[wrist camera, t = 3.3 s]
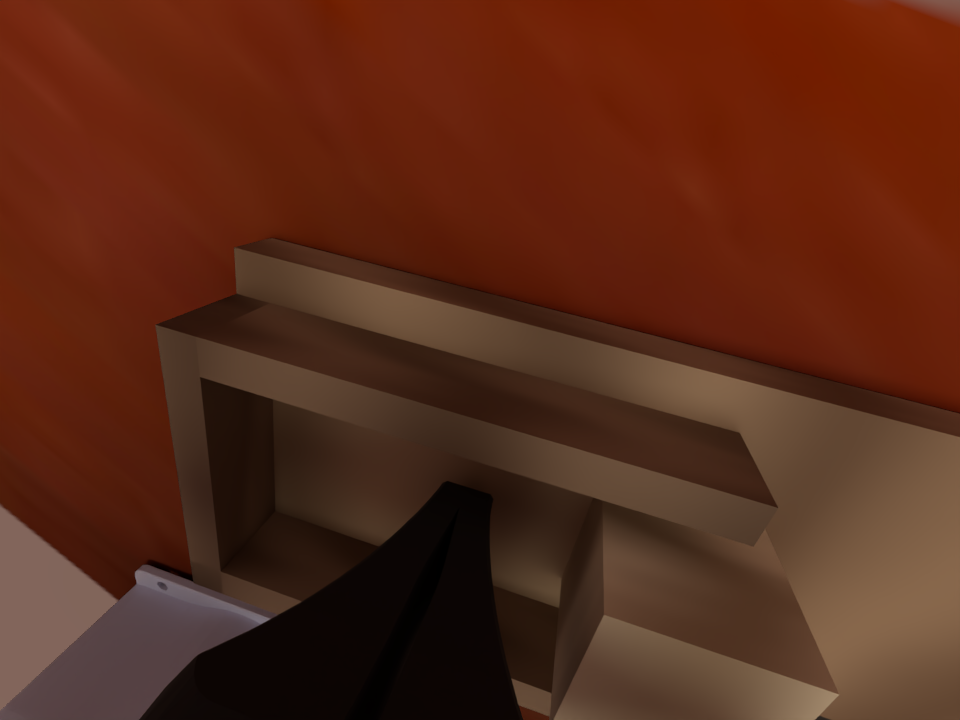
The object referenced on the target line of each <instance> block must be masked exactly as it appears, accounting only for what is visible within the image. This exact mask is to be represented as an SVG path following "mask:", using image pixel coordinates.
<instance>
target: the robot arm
mask: <svg viewBox="0 0 960 720" xmlns="http://www.w3.org/2000/svg"><path fill="white" fill-rule="evenodd" d="M492 503H493V497H492V496H491V494H488V493H485V492H481V491H478V490H475V489H472V488H469V487H465V486H462V485H459V484H456V483H453V482H449V481H446V482H443V483H442V484H441V486H440V487H439V488H438V489H437V491H436V492H435V493H434V494H433V495H432V497H431V498H430V499H429V500H428V501H427V502H426V503H425V504H424V505H423V506H422V507H421V508H420V509H419V511H418V512H417V513H416V514H415V515H414V516H413V517H411V518H410V519H409V520H408V521H407V522H406V523H405V524H404V525H403V526H402V527H401V528H400V529H399V530H398V531H397V532H396V533H395V534H393V535H392V536H391V537H390V538H389V539H388V540H386V541H385V542H384V543H383V544H382V545H381V546H379V547H378V548H377V549H376V550H375V551H374V552H372V553H371V554H370V555H369V556H367V557H366V558H365V559H363V560H362V561H361V562H360V563H358V564H357V565H356V566H354V567H353V568H351V569H350V570H349V571H347V572H346V573H345V574H343V575H342V576H340V577H339V578H337V579H336V580H334V581H333V582H331V583H330V584H328V585H327V586H325V587H324V588H322V589H321V590H319V591H318V592H316V593H315V594H313V595H311V596H310V597H308V598H307V599H305V600H303V601H302V602H300V603H298V604H297V605H295V606H293V607H291V608H289V609H288V610H286V611H284V612H282V613H280V614H279V615H277V614H275V613H272V612H269V611H267V610H264V609H261V608H259V607H256V606H253V605H251V604H248V603H245V602H243V601H240V600H237V599H235V598H232V597H229V596H227V595H224V594H221V593H219V592H216V591H213V590H211V589H208V588H205V587H203V586H200V585H197V584H195V583H194V582H193V581H190V580H188V579H185V578H182V577H180V576H177V575H174V574H172V573H169V572H166V571H164V570H161V569H158V568H156V567H153V566H150V565H142V566H141V567H140V568H139V569H138V570H137V571H136V572H135V578H136V582H137V584H136V585H135V586H134V587H133V588H132V589H131V590H130V591H129V592H127V593H126V594H125V595H124V596H123V597H122V598H121V599H120V600H119V601H118V602H117V603H116V604H115V605H113V607H111V608H110V609H109V610H108V611H107V612H106V613H105V614H104V615H103V616H102V617H101V618H100V619H98V620H97V621H96V622H95V623H94V624H93V625H92V626H91V627H90V628H89V629H88V630H87V631H86V632H84V633H83V634H82V635H81V636H80V637H79V638H78V639H77V640H76V641H75V642H74V643H73V644H72V645H70V646H69V647H68V648H67V649H66V650H65V651H64V652H63V653H62V654H61V655H60V656H59V657H57V659H55V660H54V661H53V662H52V663H51V664H50V665H49V666H48V667H47V668H46V669H45V670H43V671H42V672H41V673H40V674H39V675H38V676H37V677H36V678H35V679H34V680H33V681H32V682H31V683H30V684H28V685H27V686H26V687H25V688H24V689H23V690H22V691H21V692H20V693H19V694H18V695H17V696H16V697H14V698H13V699H12V700H11V701H10V702H9V703H8V704H7V705H6V706H5V707H4V708H3V709H2V710H1V711H0V720H523V718H522V715H521V712H520V709H519V705H518V701H517V698H516V694H515V690H514V687H513V683H512V679H511V676H510V672H509V668H508V665H507V661H506V656H505V652H504V647H503V643H502V638H501V633H500V628H499V623H498V617H497V611H496V605H495V598H494V590H493V582H492V572H491V558H490V515H491V508H492Z"/></svg>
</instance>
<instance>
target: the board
mask: <svg viewBox="0 0 960 720" xmlns="http://www.w3.org/2000/svg"><path fill="white" fill-rule="evenodd" d="M234 255H235V272H236V289H237V294H239V295H243V296H246V297H250V298H254V299H257V300H261V301H265V302H268V303H272V304H275V305H279V306H283V307H286V308H290V309H293V310H297V311H301V312H304V313H308V314H312V315H315V316H319V317H322V318H326V319H330V320H333V321H337V322H341V323H344V324H348V325H351V326H355V327H359V328H362V329H366V330H369V331H373V332H377V333H380V334H384V335H388V336H391V337H395V338H398V339H402V340H406V341H409V342H413V343H417V344H420V345H424V346H427V347H431V348H435V349H438V350H442V351H446V352H449V353H453V354H456V355H460V356H464V357H467V358H471V359H474V360H478V361H482V362H485V363H489V364H493V365H496V366H500V367H503V368H507V369H511V370H514V371H518V372H522V373H525V374H529V375H532V376H536V377H540V378H543V379H547V380H550V381H554V382H558V383H561V384H565V385H569V386H572V387H576V388H579V389H583V390H587V391H590V392H594V393H598V394H601V395H605V396H608V397H612V398H616V399H619V400H623V401H627V402H630V403H634V404H637V405H641V406H645V407H648V408H652V409H655V410H659V411H663V412H666V413H670V414H674V415H677V416H681V417H684V418H688V419H692V420H695V421H699V422H703V423H706V424H710V425H713V426H717V427H721V428H724V429H728V430H731V431H735V432H739V433H740V434H741V436H742V438H743V440H744V442H745V444H746V446H747V448H748V450H749V452H750V454H751V455H752V457H753V459H754V461H755V463H756V465H757V467H758V469H759V471H760V473H761V475H762V477H763V479H764V481H765V483H766V485H767V487H768V489H769V491H770V493H771V494H772V496H773V498H774V500H775V502H776V504H777V506H778V510H777V511H776V513H775V514H774V516H773V517H772V519H771V520H770V522H769V524H768V525H767V527H766V528H765V530H766V532H767V534H768V537H769V539H770V541H771V543H772V546H773V548H774V550H775V552H776V554H777V557H778V559H779V561H780V563H781V566H782V568H783V570H784V572H785V574H786V577H787V579H788V581H789V583H790V586H791V588H792V590H793V592H794V595H795V597H796V599H797V601H798V603H799V606H800V608H801V610H802V612H803V615H804V617H805V619H806V621H807V624H808V626H809V628H810V630H811V632H812V635H813V637H814V639H815V641H816V644H817V646H818V648H819V650H820V653H821V655H822V657H823V659H824V661H825V664H826V666H827V668H828V670H829V673H830V675H831V677H832V679H833V682H834V684H835V686H836V688H837V690H838V693H839V696H838V697H837V698H836V699H835V700H834V701H833V702H832V703H831V704H830V705H829V706H828V707H827V708H826V709H825V710H824V711H823V712H822V713H821V714H820V715H819V716H818V717H817V718H816V719H815V720H960V414H959V413H955V412H951V411H947V410H944V409H940V408H936V407H932V406H928V405H924V404H920V403H916V402H912V401H908V400H904V399H900V398H897V397H893V396H889V395H885V394H881V393H877V392H873V391H869V390H865V389H861V388H857V387H853V386H850V385H846V384H842V383H838V382H834V381H830V380H826V379H822V378H818V377H814V376H810V375H806V374H803V373H799V372H795V371H791V370H787V369H783V368H779V367H775V366H771V365H767V364H763V363H759V362H756V361H752V360H748V359H744V358H740V357H736V356H732V355H728V354H724V353H720V352H716V351H712V350H709V349H705V348H701V347H697V346H693V345H689V344H685V343H681V342H677V341H673V340H669V339H665V338H662V337H658V336H654V335H650V334H646V333H642V332H638V331H634V330H630V329H626V328H622V327H619V326H615V325H611V324H607V323H603V322H599V321H595V320H591V319H587V318H583V317H579V316H575V315H572V314H568V313H564V312H560V311H556V310H552V309H548V308H544V307H540V306H536V305H532V304H528V303H525V302H521V301H517V300H513V299H509V298H505V297H501V296H497V295H493V294H489V293H485V292H481V291H478V290H474V289H470V288H466V287H462V286H458V285H454V284H450V283H446V282H442V281H438V280H434V279H431V278H427V277H423V276H419V275H415V274H411V273H407V272H403V271H399V270H395V269H391V268H387V267H384V266H380V265H376V264H372V263H368V262H364V261H360V260H356V259H352V258H348V257H344V256H340V255H337V254H333V253H329V252H325V251H321V250H317V249H313V248H309V247H305V246H301V245H297V244H293V243H290V242H286V241H282V240H278V239H274V238H270V239H266V240H262V241H258V242H254V243H250V244H246V245H242V246H238V247H234ZM273 431H274V473H275V511H277V512H279V513H282V514H285V515H288V516H291V517H294V518H297V519H300V520H303V521H306V522H309V523H312V524H315V525H317V526H320V527H323V528H326V529H329V530H332V531H335V532H338V533H341V534H344V535H347V536H350V537H353V538H355V539H358V540H361V541H364V542H367V543H370V544H373V545H376V546H381V545H382V544H383V543H384V542H385V541H386V540H388V539H389V538H390V537H391V536H392V535H393V534H395V533H396V532H397V531H398V530H399V529H400V528H401V527H402V526H403V525H404V524H405V523H406V522H407V521H408V520H409V519H410V518H411V517H413V516H414V515H415V514H416V513H417V512H418V511H419V509H420V508H421V507H422V506H423V505H424V504H425V503H426V502H427V501H428V500H429V499H430V498H431V497H432V495H433V494H434V493H435V492H436V491H437V489H438V488H439V487H440V486H441V484H442V483H443V482H446V481H449V482H453V483H456V484H459V485H462V486H465V487H469V488H472V489H475V490H478V491H481V492H485V493H488V494H491V496H492V497H493V503H492V508H491V515H490V558H491V572H492V582H493V586H496V587H499V588H502V589H505V590H507V591H510V592H513V593H516V594H519V595H522V596H525V597H528V598H531V599H534V600H537V601H540V602H543V603H545V604H548V605H551V606H554V607H557V608H559V602H560V590H561V579H562V576H563V573H564V571H565V568H566V566H567V563H568V561H569V558H570V556H571V553H572V551H573V548H574V546H575V543H576V541H577V538H578V535H579V533H580V530H581V528H582V525H583V523H584V520H585V518H586V515H587V513H588V510H589V508H590V505H591V502H592V500H593V497H590V496H587V495H583V494H580V493H577V492H574V491H570V490H567V489H564V488H561V487H557V486H554V485H551V484H547V483H544V482H541V481H538V480H534V479H531V478H528V477H525V476H521V475H518V474H515V473H512V472H508V471H505V470H502V469H499V468H495V467H492V466H489V465H486V464H482V463H479V462H476V461H472V460H469V459H466V458H463V457H459V456H456V455H453V454H450V453H446V452H443V451H440V450H437V449H433V448H430V447H427V446H424V445H420V444H417V443H414V442H411V441H407V440H404V439H401V438H397V437H394V436H391V435H388V434H384V433H381V432H378V431H375V430H371V429H368V428H365V427H362V426H358V425H355V424H352V423H349V422H345V421H342V420H339V419H336V418H332V417H329V416H326V415H322V414H319V413H316V412H313V411H309V410H306V409H303V408H300V407H296V406H293V405H290V404H287V403H283V402H280V401H277V400H274V399H273Z"/></svg>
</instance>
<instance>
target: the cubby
mask: <svg viewBox="0 0 960 720" xmlns="http://www.w3.org/2000/svg"><path fill="white" fill-rule="evenodd" d="M156 332H157V339H158V346H159V352H160V359H161V366H162V373H163V379H164V386H165V393H166V400H167V406H168V413H169V420H170V427H171V434H172V440H173V447H174V454H175V461H176V467H177V474H178V481H179V488H180V494H181V501H182V508H183V515H184V522H185V528H186V535H187V542H188V549H189V555H190V562H191V569H192V576H193V582H194V583H195V584H197V585H200V586H203V587H205V588H208V589H211V590H213V591H216V592H219V593H221V594H224V595H227V596H229V597H232V598H235V599H237V600H240V601H243V602H245V603H248V604H251V605H253V606H256V607H259V608H261V609H264V610H267V611H269V612H272V613H275V614H277V615H279V614H280V613H282V612H284V611H286V610H288V609H289V608H291V607H293V606H295V605H297V604H298V603H300V602H302V601H303V600H305V599H307V598H308V597H310V596H311V595H313V594H315V593H316V592H318V591H319V590H321V589H322V588H324V587H325V586H327V585H328V584H330V583H331V582H333V581H334V580H336V579H337V578H339V577H340V576H342V575H343V574H345V573H346V572H347V571H349V570H350V569H351V568H353V567H354V566H356V565H357V564H358V563H360V562H361V561H362V560H363V559H365V558H366V557H367V556H369V555H370V554H371V553H372V552H374V551H375V550H376V549H377V548H378V547H379V546H376V545H373V544H370V543H367V542H364V541H361V540H358V539H355V538H353V537H350V536H347V535H344V534H341V533H338V532H335V531H332V530H329V529H326V528H323V527H320V526H317V525H315V524H312V523H309V522H306V521H303V520H300V519H297V518H294V517H291V516H288V515H285V514H282V513H279V512H277V511H275V473H274V431H273V399H274V400H277V401H280V402H283V403H287V404H290V405H293V406H296V407H300V408H303V409H306V410H309V411H313V412H316V413H319V414H322V415H326V416H329V417H332V418H336V419H339V420H342V421H345V422H349V423H352V424H355V425H358V426H362V427H365V428H368V429H371V430H375V431H378V432H381V433H384V434H388V435H391V436H394V437H397V438H401V439H404V440H407V441H411V442H414V443H417V444H420V445H424V446H427V447H430V448H433V449H437V450H440V451H443V452H446V453H450V454H453V455H456V456H459V457H463V458H466V459H469V460H472V461H476V462H479V463H482V464H486V465H489V466H492V467H495V468H499V469H502V470H505V471H508V472H512V473H515V474H518V475H521V476H525V477H528V478H531V479H534V480H538V481H541V482H544V483H547V484H551V485H554V486H557V487H561V488H564V489H567V490H570V491H574V492H577V493H580V494H583V495H587V496H590V497H593V498H596V499H600V500H603V501H606V502H609V503H613V504H616V505H619V506H622V507H626V508H629V509H632V510H636V511H639V512H642V513H645V514H649V515H652V516H655V517H658V518H662V519H665V520H668V521H671V522H675V523H678V524H681V525H684V526H688V527H691V528H694V529H697V530H701V531H704V532H707V533H711V534H714V535H717V536H720V537H724V538H727V539H730V540H733V541H737V542H740V543H743V544H746V545H750V546H753V547H754V545H755V544H756V542H757V541H758V539H759V537H760V536H761V534H762V533H763V531H764V530H765V528H766V527H767V525H768V524H769V522H770V520H771V519H772V517H773V516H774V514H775V513H776V511H777V510H778V506H777V504H776V502H775V500H774V498H773V496H772V494H771V493H770V491H769V489H768V487H767V485H766V483H765V481H764V479H763V477H762V475H761V473H760V471H759V469H758V467H757V465H756V463H755V461H754V459H753V457H752V455H751V454H750V452H749V450H748V448H747V446H746V444H745V442H744V440H743V438H742V436H741V434H740V433H739V432H735V431H731V430H728V429H724V428H721V427H717V426H713V425H710V424H706V423H703V422H699V421H695V420H692V419H688V418H684V417H681V416H677V415H674V414H670V413H666V412H663V411H659V410H655V409H652V408H648V407H645V406H641V405H637V404H634V403H630V402H627V401H623V400H619V399H616V398H612V397H608V396H605V395H601V394H598V393H594V392H590V391H587V390H583V389H579V388H576V387H572V386H569V385H565V384H561V383H558V382H554V381H550V380H547V379H543V378H540V377H536V376H532V375H529V374H525V373H522V372H518V371H514V370H511V369H507V368H503V367H500V366H496V365H493V364H489V363H485V362H482V361H478V360H474V359H471V358H467V357H464V356H460V355H456V354H453V353H449V352H446V351H442V350H438V349H435V348H431V347H427V346H424V345H420V344H417V343H413V342H409V341H406V340H402V339H398V338H395V337H391V336H388V335H384V334H380V333H377V332H373V331H369V330H366V329H362V328H359V327H355V326H351V325H348V324H344V323H341V322H337V321H333V320H330V319H326V318H322V317H319V316H315V315H312V314H308V313H304V312H301V311H297V310H293V309H290V308H286V307H283V306H279V305H275V304H272V303H268V302H265V301H261V300H257V299H254V298H250V297H246V296H243V295H239V294H235V295H232V296H230V297H227V298H225V299H222V300H219V301H217V302H214V303H211V304H209V305H206V306H204V307H201V308H198V309H196V310H193V311H191V312H188V313H185V314H183V315H180V316H177V317H175V318H172V319H170V320H167V321H164V322H162V323H159V324H157V325H156ZM493 590H494V598H495V605H496V611H497V617H498V623H499V628H500V633H501V638H502V643H503V647H504V652H505V656H506V661H507V665H508V668H509V672H510V676H511V679H512V683H513V687H514V690H515V694H516V698H517V701H518V705H520V706H523V707H526V708H528V709H531V710H534V711H536V712H539V713H542V714H544V715H547V716H550V707H551V695H552V684H553V672H554V660H555V649H556V637H557V625H558V614H559V608H557V607H554V606H551V605H548V604H545V603H543V602H540V601H537V600H534V599H531V598H528V597H525V596H522V595H519V594H516V593H513V592H510V591H507V590H505V589H502V588H499V587H496V586H493Z"/></svg>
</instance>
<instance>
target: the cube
mask: <svg viewBox="0 0 960 720" xmlns="http://www.w3.org/2000/svg"><path fill="white" fill-rule="evenodd" d="M838 696H839V693H838V690H837V688H836V686H835V684H834V682H833V679H832V677H831V675H830V673H829V670H828V668H827V666H826V664H825V661H824V659H823V657H822V655H821V653H820V650H819V648H818V646H817V644H816V641H815V639H814V637H813V635H812V632H811V630H810V628H809V626H808V624H807V621H806V619H805V617H804V615H803V612H802V610H801V608H800V606H799V603H798V601H797V599H796V597H795V595H794V592H793V590H792V588H791V586H790V583H789V581H788V579H787V577H786V574H785V572H784V570H783V568H782V566H781V563H780V561H779V559H778V557H777V554H776V552H775V550H774V548H773V546H772V543H771V541H770V539H769V537H768V534H767V532H766V530H764V531H763V533H762V534H761V536H760V537H759V539H758V541H757V542H756V544H755V545H754V547H753V546H750V545H746V544H743V543H740V542H737V541H733V540H730V539H727V538H724V537H720V536H717V535H714V534H711V533H707V532H704V531H701V530H697V529H694V528H691V527H688V526H684V525H681V524H678V523H675V522H671V521H668V520H665V519H662V518H658V517H655V516H652V515H649V514H645V513H642V512H639V511H636V510H632V509H629V508H626V507H622V506H619V505H616V504H613V503H609V502H606V501H603V500H600V499H596V498H593V500H592V502H591V505H590V508H589V510H588V513H587V515H586V518H585V520H584V523H583V525H582V528H581V530H580V533H579V535H578V538H577V541H576V543H575V546H574V548H573V551H572V553H571V556H570V558H569V561H568V563H567V566H566V568H565V571H564V573H563V576H562V579H561V590H560V602H559V614H558V625H557V637H556V649H555V660H554V672H553V684H552V695H551V707H550V719H549V720H815V719H816V718H817V717H818V716H819V715H820V714H821V713H822V712H823V711H824V710H825V709H826V708H827V707H828V706H829V705H830V704H831V703H832V702H833V701H834V700H835V699H836V698H837V697H838Z"/></svg>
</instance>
